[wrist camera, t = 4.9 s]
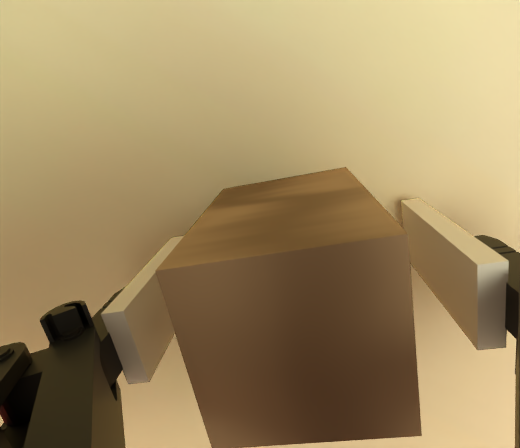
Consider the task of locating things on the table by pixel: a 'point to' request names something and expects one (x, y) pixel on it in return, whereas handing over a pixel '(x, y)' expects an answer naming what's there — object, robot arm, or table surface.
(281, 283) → the walnut block
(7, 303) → the table surface
